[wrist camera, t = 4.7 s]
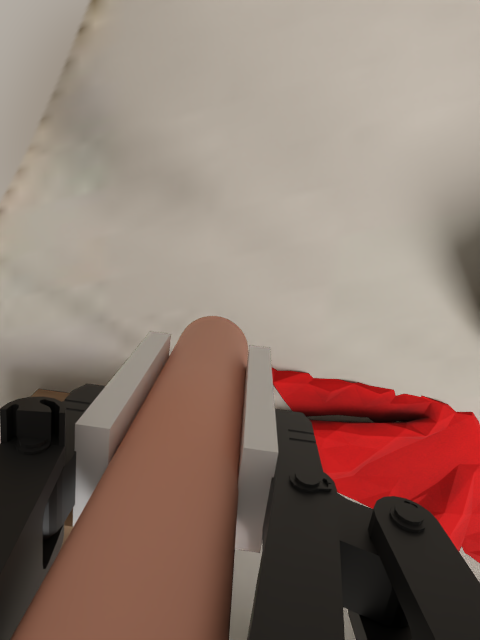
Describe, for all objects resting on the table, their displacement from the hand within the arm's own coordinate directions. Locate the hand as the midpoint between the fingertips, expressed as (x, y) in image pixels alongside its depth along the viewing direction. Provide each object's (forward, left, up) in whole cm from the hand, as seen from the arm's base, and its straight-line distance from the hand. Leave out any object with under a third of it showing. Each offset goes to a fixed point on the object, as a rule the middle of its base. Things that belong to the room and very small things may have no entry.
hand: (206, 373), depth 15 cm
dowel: (0, 0, -3) cm, 3 cm away
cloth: (-11, -14, -14) cm, 23 cm away
